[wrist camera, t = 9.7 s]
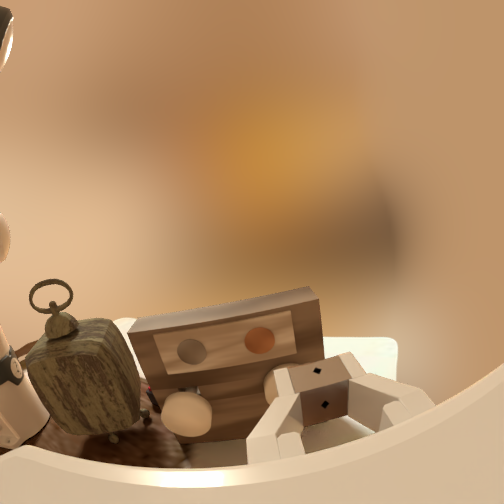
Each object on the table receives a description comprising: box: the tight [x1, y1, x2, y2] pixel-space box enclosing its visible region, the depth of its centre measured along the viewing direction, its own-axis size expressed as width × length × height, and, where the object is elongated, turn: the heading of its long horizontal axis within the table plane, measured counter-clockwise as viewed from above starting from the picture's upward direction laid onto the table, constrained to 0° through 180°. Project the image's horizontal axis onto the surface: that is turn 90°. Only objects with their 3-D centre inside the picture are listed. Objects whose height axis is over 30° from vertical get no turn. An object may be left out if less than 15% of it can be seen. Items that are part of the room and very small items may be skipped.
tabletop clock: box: [25, 279, 150, 444], centre depth 29 cm, size 14×9×25 cm, turn 108°
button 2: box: [264, 363, 299, 405], centre depth 29 cm, size 7×5×5 cm
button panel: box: [127, 286, 328, 444], centre depth 30 cm, size 4×20×18 cm, turn 93°
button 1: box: [161, 386, 212, 437], centre depth 27 cm, size 7×5×5 cm
